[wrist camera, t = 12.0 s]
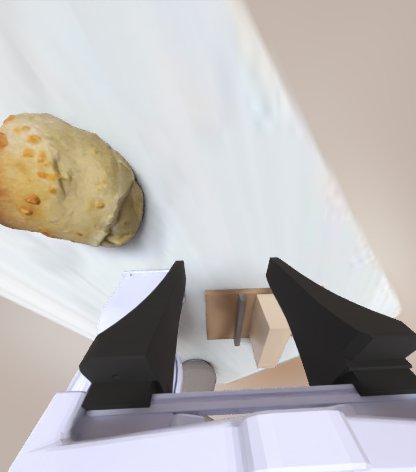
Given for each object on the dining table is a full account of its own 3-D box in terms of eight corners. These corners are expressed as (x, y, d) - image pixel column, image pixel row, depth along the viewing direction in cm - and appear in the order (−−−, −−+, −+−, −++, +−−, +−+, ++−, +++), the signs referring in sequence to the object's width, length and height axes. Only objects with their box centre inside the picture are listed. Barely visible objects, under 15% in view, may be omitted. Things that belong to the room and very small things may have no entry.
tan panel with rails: (207, 335, 34) (207, 347, 32) (205, 290, 27) (205, 302, 25) (300, 330, 35) (306, 342, 32) (322, 285, 27) (333, 297, 25)
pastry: (0, 122, 15) (-185, 92, 8) (123, 111, 15) (49, 69, 8) (74, 242, 21) (11, 284, 14) (158, 234, 21) (136, 273, 14)
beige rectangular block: (248, 333, 33) (257, 368, 27) (256, 294, 26) (269, 328, 21) (263, 333, 33) (275, 367, 27) (275, 293, 26) (293, 327, 21)
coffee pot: (195, 377, 46) (192, 466, 33) (166, 365, 41) (150, 463, 28) (252, 353, 39) (276, 452, 26) (225, 336, 35) (238, 446, 22)
